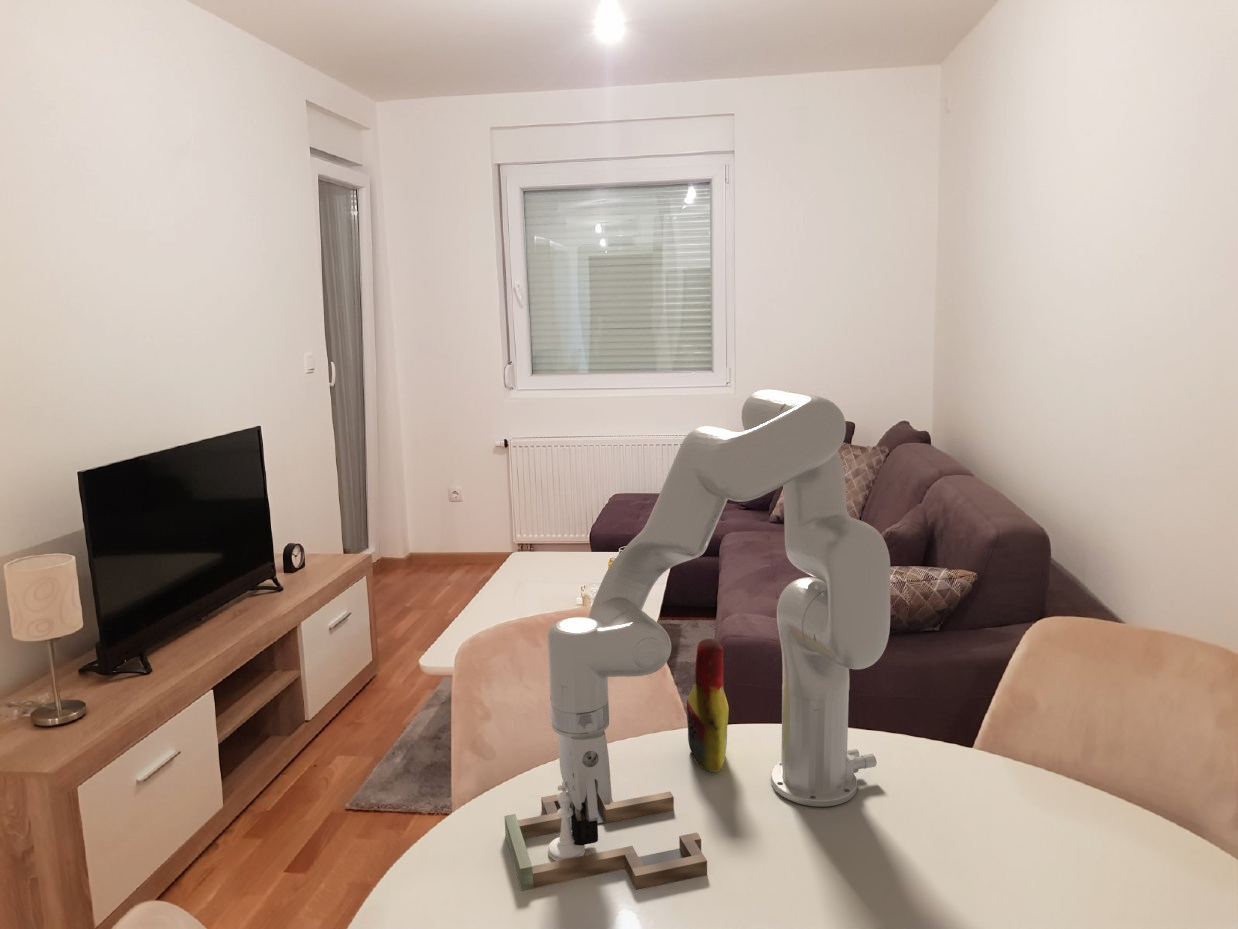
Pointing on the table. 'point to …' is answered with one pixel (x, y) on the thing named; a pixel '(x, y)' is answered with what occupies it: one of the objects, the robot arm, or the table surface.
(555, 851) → the chess piece
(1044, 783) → the table surface
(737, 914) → the table surface
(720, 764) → the bottle
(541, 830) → the trap lane
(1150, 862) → the table surface
